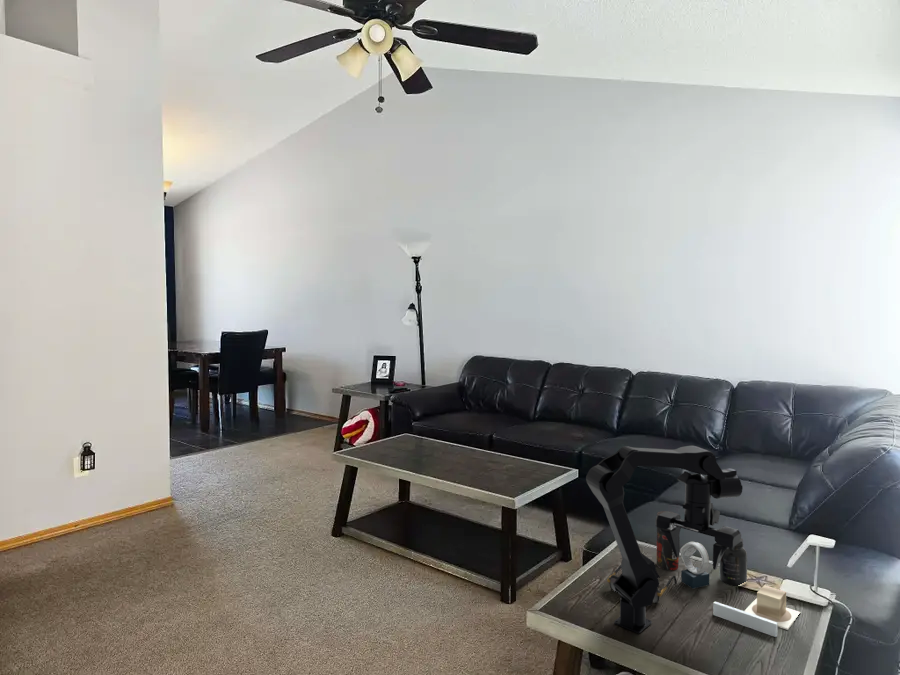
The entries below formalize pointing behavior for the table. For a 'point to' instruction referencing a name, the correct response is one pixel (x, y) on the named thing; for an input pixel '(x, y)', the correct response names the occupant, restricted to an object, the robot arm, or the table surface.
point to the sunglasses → (657, 594)
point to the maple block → (771, 602)
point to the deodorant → (665, 552)
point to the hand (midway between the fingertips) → (695, 563)
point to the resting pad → (782, 623)
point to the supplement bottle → (733, 565)
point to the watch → (692, 574)
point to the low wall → (745, 619)
